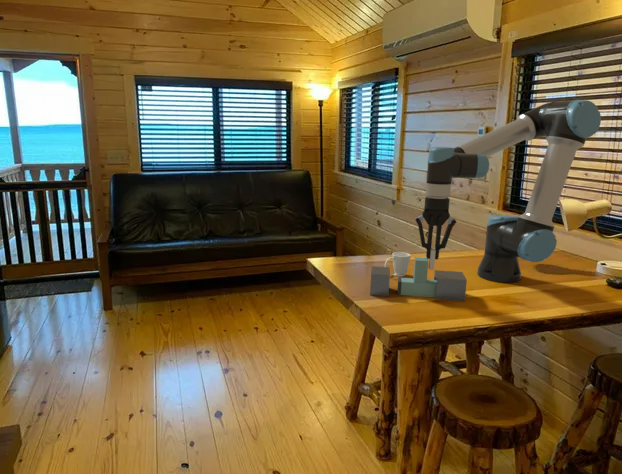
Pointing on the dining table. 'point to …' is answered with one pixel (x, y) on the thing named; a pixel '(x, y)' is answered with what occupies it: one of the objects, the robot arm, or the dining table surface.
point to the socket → (380, 281)
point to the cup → (400, 263)
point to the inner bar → (418, 281)
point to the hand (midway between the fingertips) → (431, 268)
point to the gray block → (450, 285)
